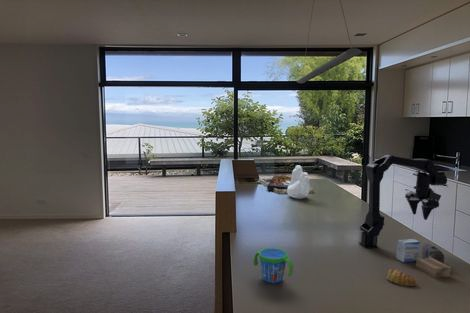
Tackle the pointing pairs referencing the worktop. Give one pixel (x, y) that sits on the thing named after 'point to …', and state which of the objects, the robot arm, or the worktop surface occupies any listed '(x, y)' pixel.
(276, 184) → the food platter
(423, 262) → the walnut pedestal block
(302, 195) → the decorative rooster
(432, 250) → the perforated stone tool
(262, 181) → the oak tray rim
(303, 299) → the worktop surface
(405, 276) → the pastry
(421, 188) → the robot arm
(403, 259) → the medicine box
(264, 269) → the snack cup
